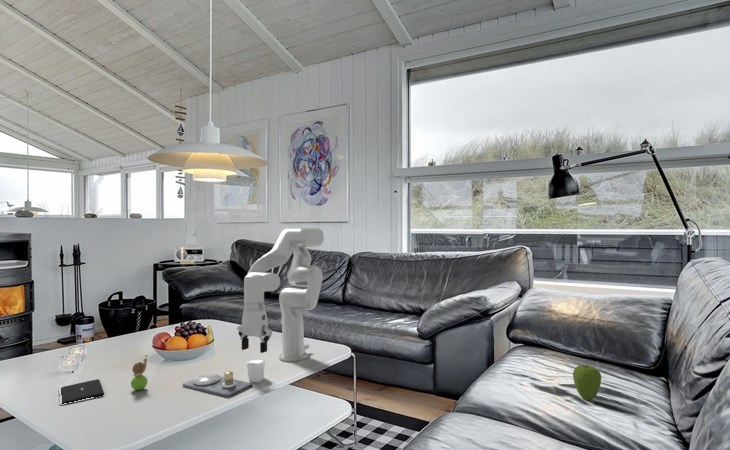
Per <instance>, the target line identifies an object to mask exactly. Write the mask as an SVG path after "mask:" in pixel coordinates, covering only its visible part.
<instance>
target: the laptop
mask: <svg viewBox="0 0 730 450" xmlns="http://www.w3.org/2000/svg"><path fill="white" fill-rule="evenodd" d="M60 389H61V395H62V404H64V403H69V402H74V401H78V400H82V399H86V398H91V397H94V399H96V398H95V397H98V398H100V397H99V396H103V395H105V391H104V389H103V387H102V383H101V380H100V378H99V379H93V380H87V381H83V382H78V383H73V384H70V385H65V386H62V387H61V388H60ZM103 397H104V396H103Z"/></svg>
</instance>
